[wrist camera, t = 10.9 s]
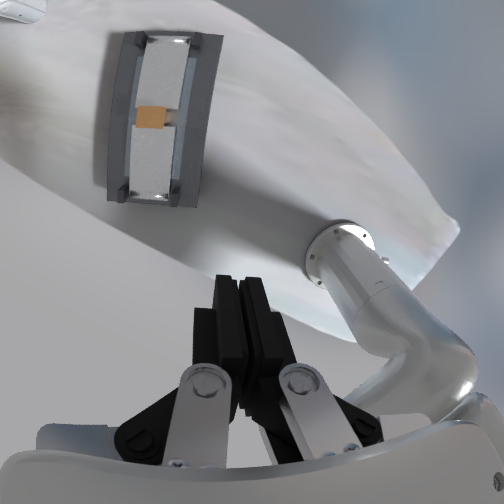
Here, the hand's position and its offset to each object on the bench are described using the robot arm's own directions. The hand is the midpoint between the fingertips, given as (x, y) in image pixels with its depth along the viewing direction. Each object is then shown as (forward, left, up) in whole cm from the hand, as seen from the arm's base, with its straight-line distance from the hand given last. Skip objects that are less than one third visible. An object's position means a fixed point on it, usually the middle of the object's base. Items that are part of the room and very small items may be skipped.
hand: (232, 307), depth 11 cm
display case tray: (+8, -6, -29) cm, 31 cm away
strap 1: (+8, -12, -25) cm, 28 cm away
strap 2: (+8, 0, -24) cm, 26 cm away
